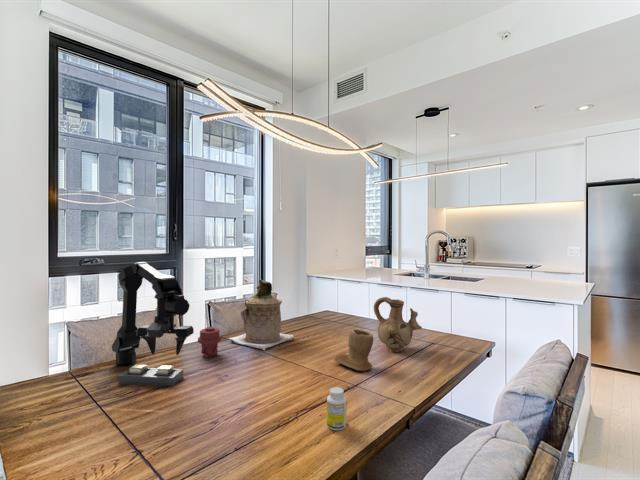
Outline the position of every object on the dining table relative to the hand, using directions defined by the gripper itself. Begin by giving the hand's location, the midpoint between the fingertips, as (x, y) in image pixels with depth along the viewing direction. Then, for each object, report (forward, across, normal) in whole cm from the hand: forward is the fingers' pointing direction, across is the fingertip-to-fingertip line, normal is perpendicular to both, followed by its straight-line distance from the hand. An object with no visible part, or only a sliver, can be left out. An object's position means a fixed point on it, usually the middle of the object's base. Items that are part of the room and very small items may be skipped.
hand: (165, 354), depth 124 cm
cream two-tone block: (+10, 0, 0) cm, 10 cm away
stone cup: (+11, +70, +23) cm, 74 cm away
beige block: (+10, -10, 0) cm, 14 cm away
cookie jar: (+11, +23, +54) cm, 59 cm away
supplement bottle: (+11, +63, -23) cm, 68 cm away
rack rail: (+10, -5, 0) cm, 11 cm away
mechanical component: (+10, +5, +29) cm, 31 cm away
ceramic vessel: (+11, +90, +45) cm, 101 cm away
